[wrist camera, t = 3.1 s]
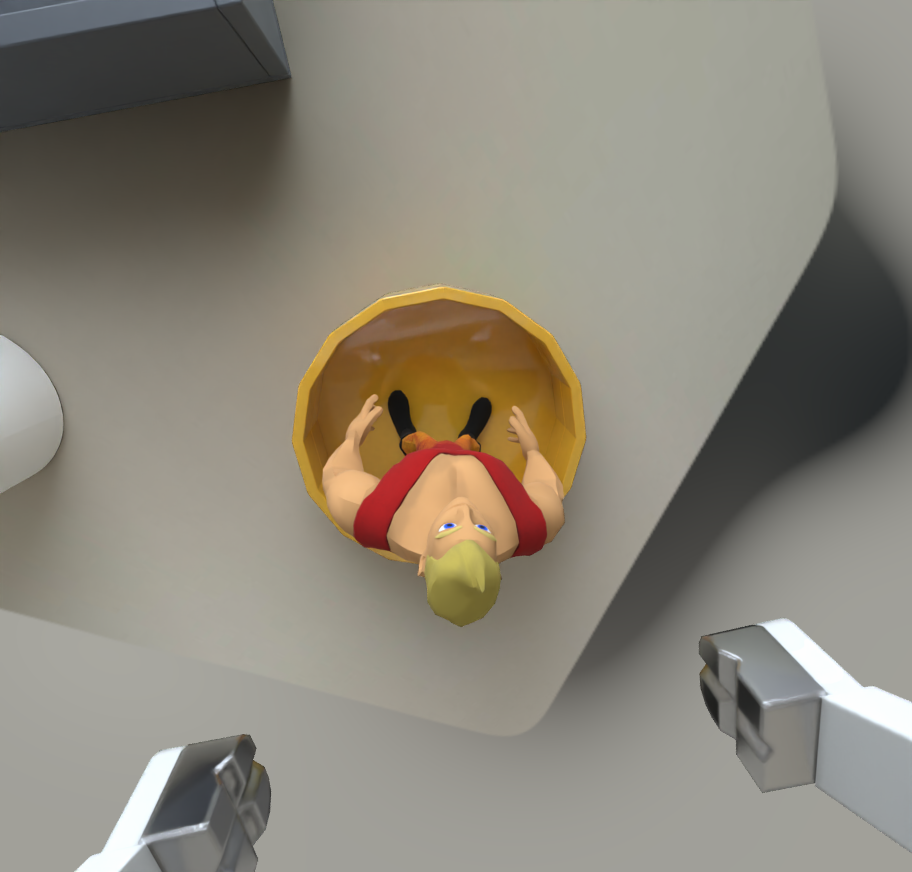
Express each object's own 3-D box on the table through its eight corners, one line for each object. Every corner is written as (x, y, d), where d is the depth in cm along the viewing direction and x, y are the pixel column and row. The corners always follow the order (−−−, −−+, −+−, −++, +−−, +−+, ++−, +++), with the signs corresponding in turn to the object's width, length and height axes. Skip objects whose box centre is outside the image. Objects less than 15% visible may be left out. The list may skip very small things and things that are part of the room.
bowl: (544, 262, 25) (568, 261, 21) (572, 500, 29) (596, 536, 25) (279, 313, 24) (254, 323, 21) (347, 546, 29) (337, 589, 25)
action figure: (534, 391, 26) (677, 545, 12) (523, 456, 27) (644, 668, 13) (346, 375, 25) (259, 523, 11) (343, 443, 26) (262, 658, 12)
